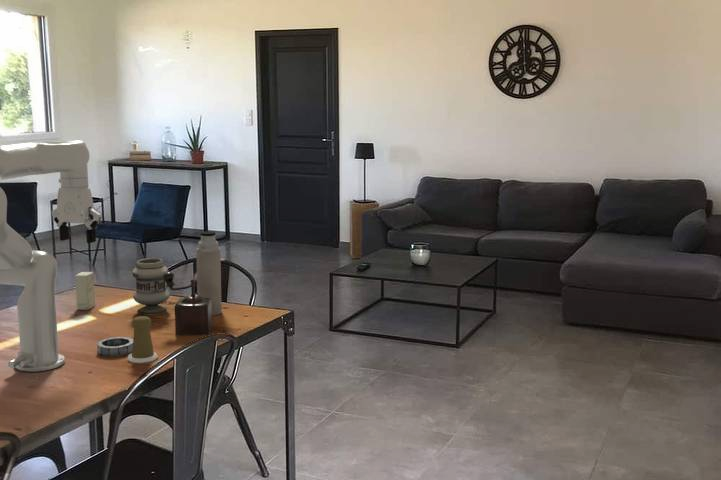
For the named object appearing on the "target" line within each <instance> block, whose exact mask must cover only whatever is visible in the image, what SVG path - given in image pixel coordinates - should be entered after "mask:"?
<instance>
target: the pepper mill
mask: <svg viewBox="0 0 721 480" xmlns="http://www.w3.org/2000/svg"><path fill="white" fill-rule="evenodd" d="M162 278H163V280H164V281H165V287H166V288H168V289H169V290H170V291H181V290H186V289H189V288H191V294H189V295H187V296H185V297H180V298H179V299H178V301H177V302H176V303H175V305H174V325H175V326H174V327H175V329H174V331H175V335H176V336H203V334H207V335H209V334H210V332H211V330H212V328H213V320H212V316H213V315H212V304H211V301H212V299H211V298H205V297H201V296H199V295H197V292H195V287H196V283H195V279H191V280H190V284H189V285H185V286H179V287H174V286H175V285H176V283H174V278H175V274H174V273H173V272H171V271H168V272H166V273H164V274H163V276H162Z"/></svg>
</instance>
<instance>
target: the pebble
mask: <svg viewBox="0 0 721 480" xmlns="http://www.w3.org/2000/svg"><path fill="white" fill-rule="evenodd" d="M153 352H154V351H153ZM157 359H158V353H156V351H155V352H154V355H153V356H151V357H148V358H134V357H132V353H129V354H127V362H130V363H133V364H146V363H151V362H154V361H156V360H157Z"/></svg>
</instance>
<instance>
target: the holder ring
mask: <svg viewBox="0 0 721 480" xmlns="http://www.w3.org/2000/svg"><path fill="white" fill-rule="evenodd" d="M96 345H97V346H96V347H97V348H96V349H97V354H99V355H101V356H104V357H120V356H125V355H130V354H132V348H133V338H131V337H127V336H114V337H107V338H104V339H102V340H99V341H98V343H97V344H96Z"/></svg>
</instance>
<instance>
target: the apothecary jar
mask: <svg viewBox="0 0 721 480" xmlns="http://www.w3.org/2000/svg"><path fill="white" fill-rule="evenodd" d="M163 263H164V262H163V259H162V258H159V257H158V258H157V257H149V258H141V259H138V260H137V261H136V266H134V268H133V269H132V270H131V271H132V272H131V274H132V276H133V277H134V278H135V283H136V290H135V291H134V293H133V296H132V297H133V298H132V299H133V300H134V301H135V302H136V303H137V304H140V305H143V306H142V307H140V308H138V309H137V310H136V312H137V314H138V315H144V316H158V315H162V314H165V313H166V312H167V311H168V310H167V308H166V307H164V306H162V303H165V302H166V301H168V299H169V298H170V295H171V293H170V292H169V290H168V289H167V287H166V282H165V281H164V280H163V278H162V276H163V274H164V273H166V272H169V269H168V267H167V266H165V264H163Z"/></svg>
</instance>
